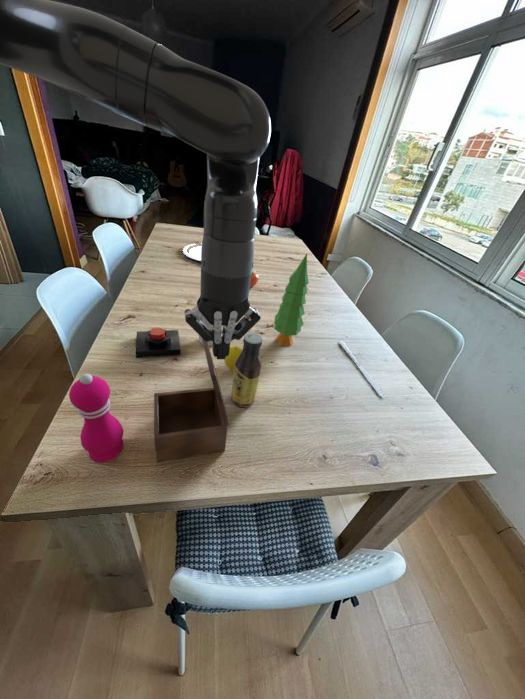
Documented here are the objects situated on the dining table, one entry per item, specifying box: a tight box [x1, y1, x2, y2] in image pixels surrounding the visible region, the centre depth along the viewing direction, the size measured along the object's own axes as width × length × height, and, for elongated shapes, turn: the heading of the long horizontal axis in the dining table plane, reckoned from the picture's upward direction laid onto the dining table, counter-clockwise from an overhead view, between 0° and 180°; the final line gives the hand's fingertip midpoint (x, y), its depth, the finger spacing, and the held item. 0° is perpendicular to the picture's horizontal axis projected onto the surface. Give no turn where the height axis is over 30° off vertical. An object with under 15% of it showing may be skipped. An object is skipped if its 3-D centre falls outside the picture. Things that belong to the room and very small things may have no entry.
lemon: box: [223, 345, 243, 371], centre depth 81 cm, size 6×6×8 cm
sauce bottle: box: [230, 332, 263, 408], centre depth 69 cm, size 7×6×20 cm
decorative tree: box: [273, 253, 309, 347], centre depth 90 cm, size 10×9×30 cm
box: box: [153, 387, 228, 463], centre depth 62 cm, size 14×12×8 cm
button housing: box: [134, 329, 181, 359], centre depth 86 cm, size 12×10×4 cm
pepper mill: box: [68, 373, 124, 463], centre depth 53 cm, size 7×7×20 cm
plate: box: [181, 242, 202, 263], centre depth 153 cm, size 29×29×2 cm
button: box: [150, 327, 166, 340], centre depth 85 cm, size 4×4×2 cm
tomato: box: [250, 268, 260, 288], centre depth 128 cm, size 7×7×8 cm
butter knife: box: [338, 340, 384, 397], centre depth 93 cm, size 1×27×3 cm
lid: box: [202, 338, 230, 428], centre depth 57 cm, size 14×12×1 cm
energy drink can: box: [198, 313, 213, 347], centre depth 88 cm, size 6×6×15 cm
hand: (220, 356), depth 53 cm, fingers closed
